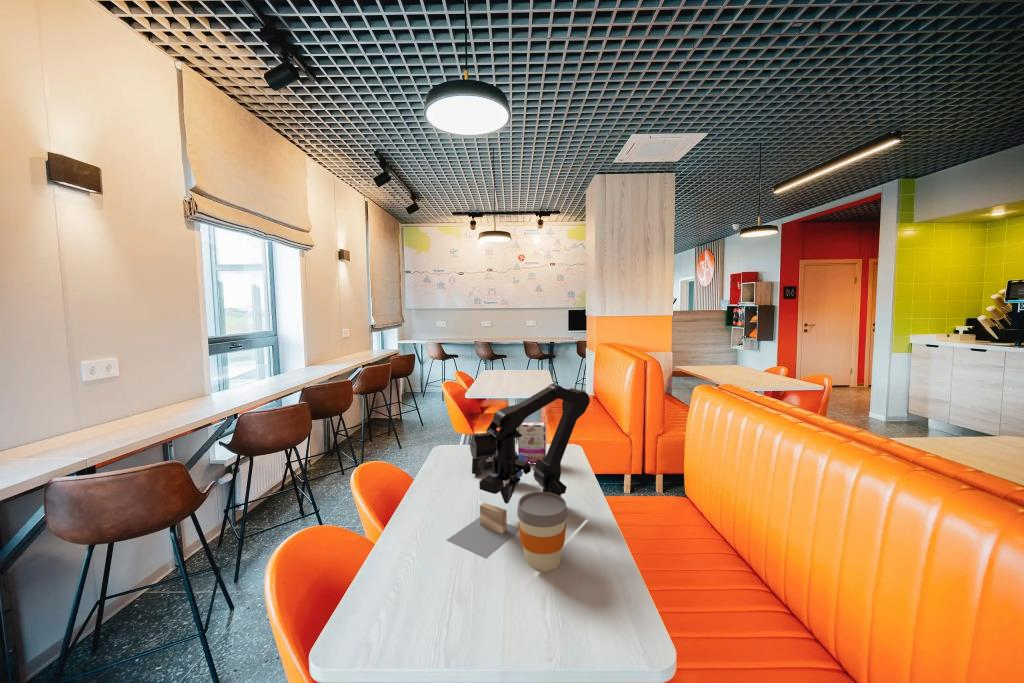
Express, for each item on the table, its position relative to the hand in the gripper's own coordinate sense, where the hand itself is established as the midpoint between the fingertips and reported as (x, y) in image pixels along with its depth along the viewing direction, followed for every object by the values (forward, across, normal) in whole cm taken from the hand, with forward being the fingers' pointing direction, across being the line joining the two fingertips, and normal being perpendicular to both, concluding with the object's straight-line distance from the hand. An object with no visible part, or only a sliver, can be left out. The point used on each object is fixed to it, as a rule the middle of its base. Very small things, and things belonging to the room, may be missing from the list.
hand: (506, 502), depth 118 cm
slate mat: (+5, +11, 0) cm, 12 cm away
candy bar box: (+6, -41, -17) cm, 45 cm away
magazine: (+6, -31, -34) cm, 47 cm away
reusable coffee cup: (+6, +10, +18) cm, 22 cm away
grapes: (+6, -21, -14) cm, 26 cm away
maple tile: (+5, +7, 0) cm, 8 cm away
